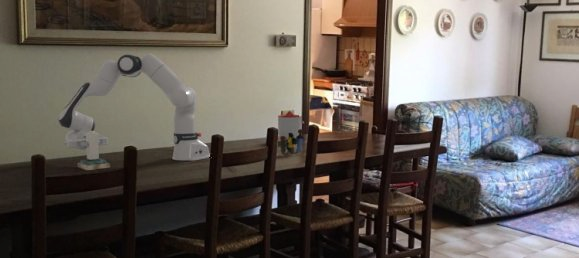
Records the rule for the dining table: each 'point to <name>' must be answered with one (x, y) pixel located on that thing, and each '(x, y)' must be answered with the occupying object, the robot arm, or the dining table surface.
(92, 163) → the birch base board
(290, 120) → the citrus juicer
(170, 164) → the dining table surface
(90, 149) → the cream pillar
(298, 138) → the doll family
